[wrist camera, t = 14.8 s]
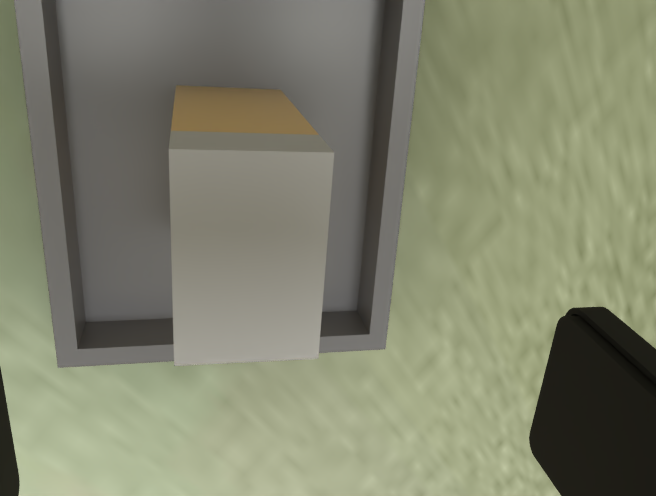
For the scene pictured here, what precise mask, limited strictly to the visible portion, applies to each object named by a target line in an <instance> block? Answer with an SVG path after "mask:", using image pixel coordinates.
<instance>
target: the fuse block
mask: <svg viewBox="0 0 656 496" xmlns="http://www.w3.org/2000/svg"><path fill="white" fill-rule="evenodd" d="M333 163H334V152H333V151H332V149H331V148H330V147H329V146H328V145H327V144H326V142H325V141H324V140H323V139H322V138H321V137H320V135H319V134H318V133H317V132H316V131H315V130H314V128H313V127H312V126H311V125H310V124H309V122H308V121H307V120H306V119H305V118H304V117H303V115H302V114H301V113H300V112H299V111H298V110H297V108H296V107H295V106H294V105H293V104H292V103H291V101H290V100H289V99H288V98H287V97H286V96H285V94H284V93H283V92H282V91H281V90H274V89H250V88H227V87H204V86H180V85H176V90H175V99H174V107H173V116H172V125H171V133H170V142H169V181H170V221H171V261H172V300H173V340H174V366H184V365H204V364H223V363H243V362H263V361H282V360H302V359H318V357H319V344H320V331H321V318H322V305H323V292H324V279H325V266H326V253H327V240H328V227H329V214H330V202H331V189H332V176H333Z"/></svg>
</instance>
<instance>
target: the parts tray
mask: <svg viewBox="0 0 656 496" xmlns="http://www.w3.org/2000/svg"><path fill="white" fill-rule="evenodd" d="M14 4H15V12H16V21H17V29H18V37H19V46H20V54H21V63H22V71H23V79H24V88H25V96H26V104H27V113H28V121H29V130H30V138H31V146H32V155H33V163H34V171H35V180H36V188H37V197H38V205H39V213H40V222H41V230H42V238H43V247H44V255H45V264H46V272H47V280H48V289H49V297H50V305H51V314H52V322H53V331H54V339H55V347H56V356H57V364H58V368H61V367H79V366H96V365H114V364H132V363H150V362H167V361H174V340H173V300H172V261H171V221H170V181H169V142H170V133H171V125H172V116H173V107H174V99H175V90H176V85H180V86H204V87H227V88H250V89H274V90H281V91H282V92H283V93H284V94H285V96H286V97H287V98H288V99H289V100H290V101H291V103H292V104H293V105H294V106H295V107H296V108H297V110H298V111H299V112H300V113H301V114H302V115H303V117H304V118H305V119H306V120H307V121H308V122H309V124H310V125H311V126H312V127H313V128H314V130H315V131H316V132H317V133H318V134H319V135H320V137H321V138H322V139H323V140H324V141H325V142H326V144H327V145H328V146H329V147H330V148H331V149H332V151H333V152H334V163H333V176H332V189H331V202H330V214H329V227H328V240H327V253H326V266H325V279H324V292H323V305H322V318H321V331H320V344H319V353H327V352H345V351H362V350H380V349H385V347H386V338H387V330H388V321H389V312H390V304H391V295H392V286H393V277H394V269H395V260H396V251H397V242H398V234H399V225H400V216H401V207H402V199H403V190H404V181H405V173H406V164H407V155H408V146H409V138H410V129H411V120H412V111H413V103H414V94H415V85H416V77H417V68H418V59H419V50H420V42H421V33H422V24H423V15H424V7H425V0H14Z"/></svg>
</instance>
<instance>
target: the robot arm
mask: <svg viewBox="0 0 656 496" xmlns="http://www.w3.org/2000/svg"><path fill="white" fill-rule="evenodd" d="M529 441H530V447H531V450H532V453H533V455H534V457H535V458H536V460H537V461H538V462H539V464H540V465H541V467H542V468H543V470H544V471H545V473H546V474H547V476H548V477H549V478H550V480H551V481H552V483H553V484H554V486H555V487H556V489H557V490H558V491H559V493H560V494H561V496H656V349H655V348H654V347H652V346H651V345H650V344H649V343H648V342H646V341H645V340H644V339H643V338H642V337H641V336H639V335H638V334H637V333H636V332H635V331H633V330H632V329H631V328H630V327H629V326H627V325H626V324H625V323H624V322H623V321H621V320H620V319H619V318H618V317H617V316H615V315H614V314H613V313H612V312H611V311H609V310H608V309H606V308H604V307H584V308H572V309H570V310H569V311H568V312H567V313H566V315H565V316H563V317H561V318H560V319H559V321H558V323H557V327H556V331H555V335H554V339H553V343H552V347H551V351H550V355H549V359H548V363H547V367H546V371H545V375H544V379H543V383H542V387H541V391H540V395H539V399H538V403H537V407H536V411H535V415H534V419H533V423H532V427H531V431H530V436H529ZM18 494H19V473H18V468H17V462H16V456H15V450H14V444H13V438H12V432H11V427H10V421H9V415H8V409H7V403H6V397H5V391H4V386H3V380H2V374H1V368H0V496H18Z"/></svg>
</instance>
